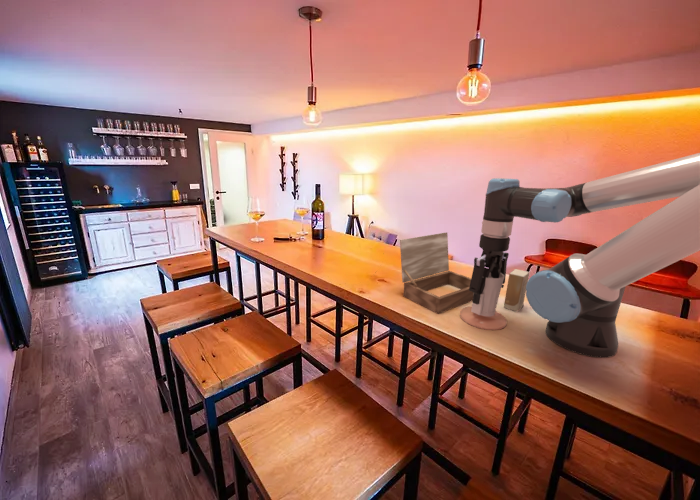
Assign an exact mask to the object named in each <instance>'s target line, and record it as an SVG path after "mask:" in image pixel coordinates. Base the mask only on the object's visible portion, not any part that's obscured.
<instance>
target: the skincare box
mask: <svg viewBox="0 0 700 500" xmlns="http://www.w3.org/2000/svg"><path fill="white" fill-rule="evenodd" d="M529 276H530V272H529V271H526V270H522V269H517V268H515V269H513V270H512V271H511V272H509V274H508V280H507V286H506V291H505V292H506V293H505V297H504V303H503V308H504V309H507V310H510V311H513V312H519V311H520V310H522V309H521V308H523V306H524V302H525V297H526V285H527V282H528V280H529V278H530V277H529Z"/></svg>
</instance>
